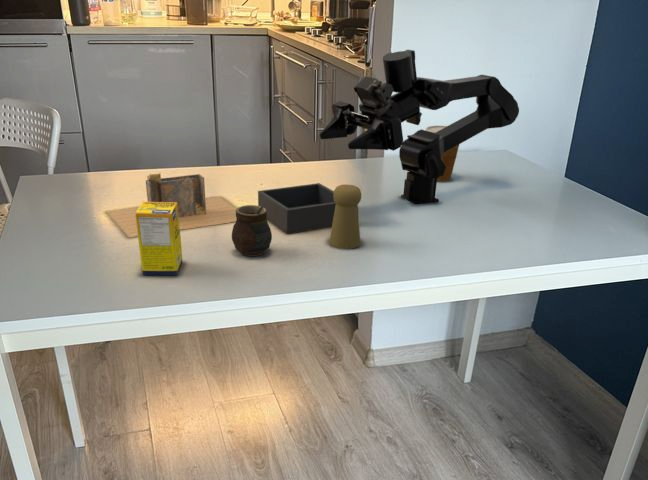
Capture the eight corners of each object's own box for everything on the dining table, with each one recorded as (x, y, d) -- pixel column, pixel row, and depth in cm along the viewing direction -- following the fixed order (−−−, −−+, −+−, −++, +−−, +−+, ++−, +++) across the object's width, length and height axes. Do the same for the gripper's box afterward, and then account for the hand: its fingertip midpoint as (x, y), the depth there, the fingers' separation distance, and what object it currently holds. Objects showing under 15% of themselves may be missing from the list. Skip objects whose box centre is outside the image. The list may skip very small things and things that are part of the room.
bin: (318, 204, 148) (319, 182, 146) (350, 223, 138) (351, 200, 135) (258, 213, 142) (257, 190, 139) (287, 233, 132) (287, 210, 129)
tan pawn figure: (323, 244, 127) (325, 187, 122) (337, 234, 132) (340, 179, 126) (352, 250, 125) (355, 193, 119) (365, 241, 130) (369, 184, 124)
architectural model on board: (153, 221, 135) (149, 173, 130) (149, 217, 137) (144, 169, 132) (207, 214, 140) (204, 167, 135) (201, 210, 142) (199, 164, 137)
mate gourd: (252, 241, 127) (250, 189, 122) (281, 251, 123) (281, 198, 118) (224, 251, 122) (221, 198, 117) (254, 263, 118) (252, 208, 113)
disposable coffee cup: (416, 180, 166) (421, 131, 160) (422, 171, 174) (427, 123, 168) (454, 185, 164) (461, 135, 158) (459, 175, 172) (465, 127, 166)
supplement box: (182, 262, 118) (178, 201, 112) (177, 276, 113) (172, 213, 107) (148, 261, 117) (142, 200, 112) (141, 275, 112) (134, 212, 107)
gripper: (357, 65, 139) (297, 93, 133) (420, 78, 126) (357, 109, 120) (365, 117, 146) (309, 146, 140) (426, 134, 133) (367, 167, 127)
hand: (334, 141), depth 132 cm, fingers open, 9 cm apart
